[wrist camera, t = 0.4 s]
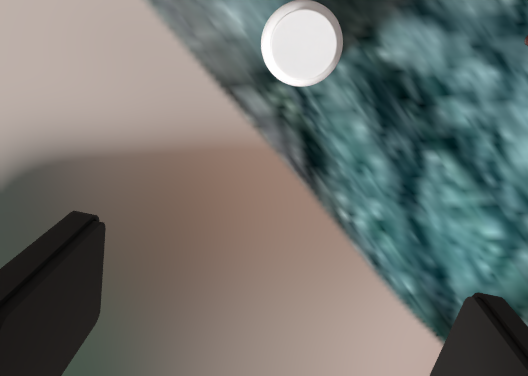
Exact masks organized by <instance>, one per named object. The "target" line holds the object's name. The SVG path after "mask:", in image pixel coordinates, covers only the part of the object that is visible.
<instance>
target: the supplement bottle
mask: <svg viewBox="0 0 528 376" xmlns="http://www.w3.org/2000/svg"><path fill="white" fill-rule="evenodd" d="M342 48H343V36H342V31H341V27H340V25H339V22H338V20H337V18H336V17H335V16H334V14H333V13H332V12H331V11H330V10H329V9H328V8H327V7H325V6H324V5H322V4H320V3H318V2H315V1H311V0H296V1H292V2H289V3H287V4H285V5H283V6H281V7H280V8H279V9H277V10H276V11H275V12H274V13H273V14H272V15H271V17H270V18H269V19H268V21H267V23H266V25H265V27H264V30H263V33H262V38H261V49H262V55H263V58H264V61H265V64H266V65H267V67H268V69H269V70H270V71H271V73H272V74H273V75H274V76H275V77H276V78H278V79H279V80H280V81H282V82H284V83H286V84H289V85H292V86H309V85H313V84H316V83H318V82H320V81H322V80H323V79H325V78H326V77H327V76H328V75H329V74H330V73H331V72H332V71H333V70H334V68H335V67H336V65H337V63H338V61H339V59H340V56H341V53H342Z"/></svg>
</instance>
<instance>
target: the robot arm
mask: <svg viewBox="0 0 528 376" xmlns="http://www.w3.org/2000/svg"><path fill="white" fill-rule="evenodd" d="M104 241H105V224H104V223H103V222H99V217H98V216H97V215H92V214H87V213H83V212H77V211H73V212H71V213H69V214H68V215H67V216H66V217H65V218H63V219H62V220H61V221H59V222H58V223H57V224H56V225H55V226H53V227H52V228H51V229H49V230H48V231H47V232H46V233H44V234H43V235H42V236H41V237H39V238H38V239H37V240H36V241H35V242H33V243H32V244H31V245H30V246H28V247H27V248H26V249H25V250H23V251H22V252H21V253H20V254H18V255H17V256H16V257H15V258H13V259H12V260H11V261H10V262H8V263H7V264H6V265H5V266H3V267H2V268H1V269H0V376H61V375H62V374H63V372H64V371H65V369H66V368H67V366H68V364H69V363H70V362H71V360H72V359H73V357H74V355H75V354H76V352H77V351H78V350H79V348H80V346H81V345H82V343H83V342H84V340H85V339H86V338H87V336H88V335H89V333H90V331H91V330H92V329H93V327H94V326H95V324H96V322H97V320H98V317H99V314H100V305H101V291H102V274H103V258H104V243H105V242H104ZM430 376H528V327H527V325H526V324H525V323H524V322H523V321H522V320H521V318H520V317H519V316H518V315H517V314H516V313H515V311H514V310H513V309H512V308H511V307H510V306H509V304H508V303H507V302H506V301H505V300H504V299H503V298H502V297H498V296H493V295H488V294H483V293H475V294H474V295H473V296H472V297H468V298H466V299H465V301H464V303H463V305H462V307H461V309H460V312H459V314H458V316H457V318H456V320H455V322H454V324H453V327H452V329H451V331H450V333H449V335H448V337H447V339H446V342H445V344H444V346H443V348H442V350H441V352H440V354H439V357H438V359H437V361H436V363H435V365H434V367H433V370H432V372H431V374H430Z"/></svg>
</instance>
